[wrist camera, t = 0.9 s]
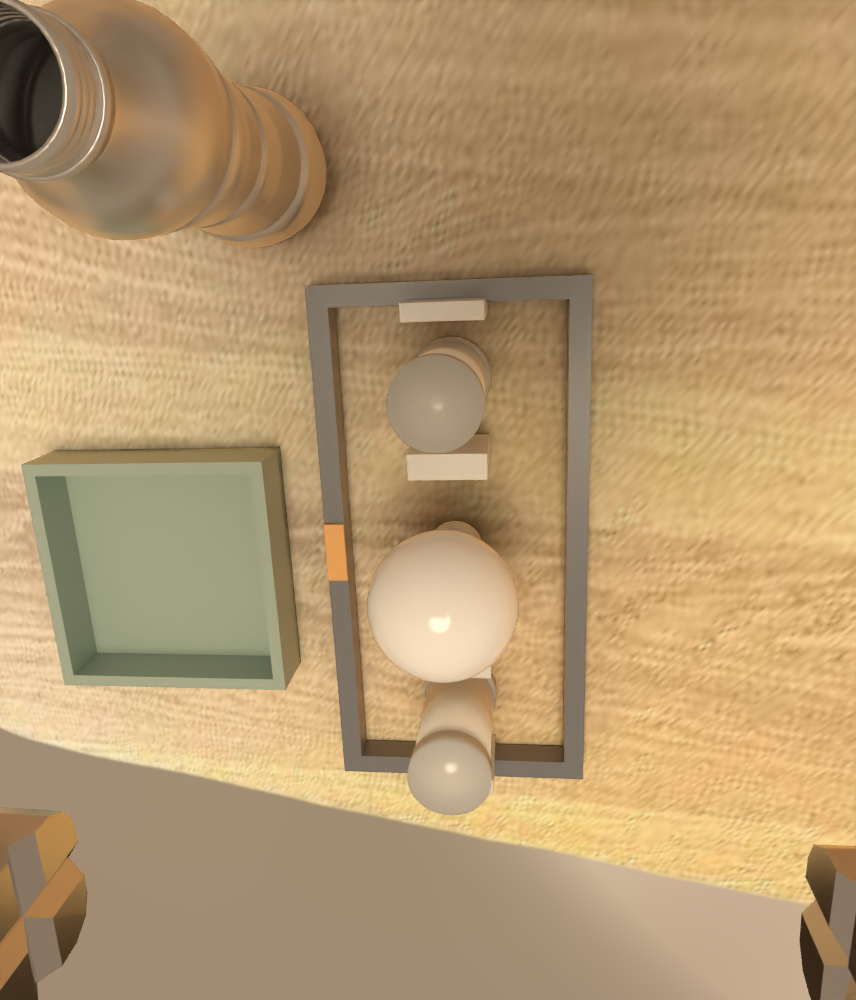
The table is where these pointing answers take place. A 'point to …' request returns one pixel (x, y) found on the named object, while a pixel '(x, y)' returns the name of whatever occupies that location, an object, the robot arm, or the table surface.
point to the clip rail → (460, 464)
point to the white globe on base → (440, 395)
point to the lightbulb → (443, 604)
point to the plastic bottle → (147, 129)
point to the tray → (167, 566)
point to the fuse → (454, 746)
